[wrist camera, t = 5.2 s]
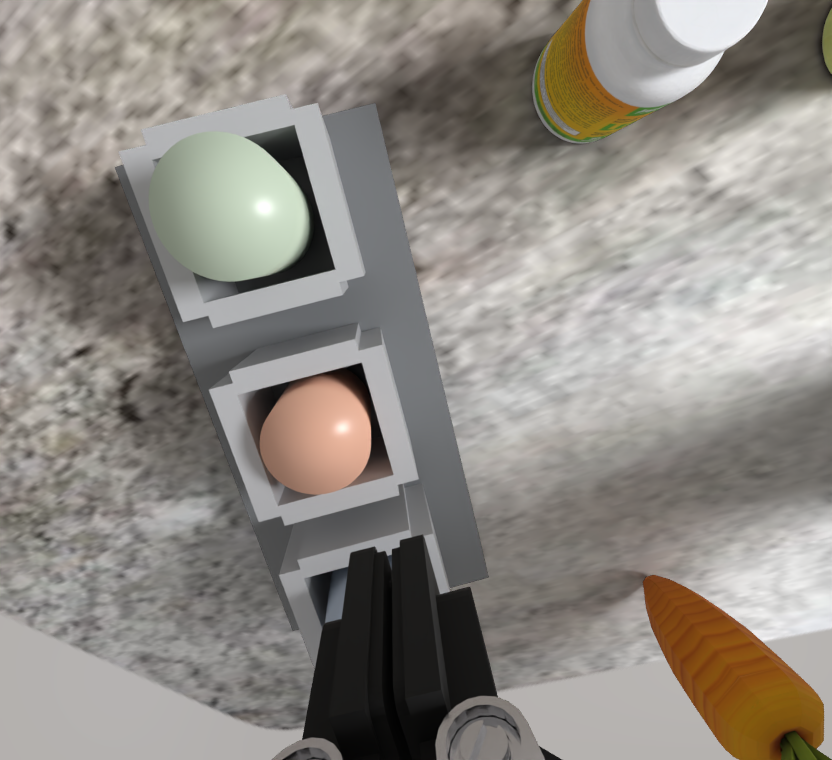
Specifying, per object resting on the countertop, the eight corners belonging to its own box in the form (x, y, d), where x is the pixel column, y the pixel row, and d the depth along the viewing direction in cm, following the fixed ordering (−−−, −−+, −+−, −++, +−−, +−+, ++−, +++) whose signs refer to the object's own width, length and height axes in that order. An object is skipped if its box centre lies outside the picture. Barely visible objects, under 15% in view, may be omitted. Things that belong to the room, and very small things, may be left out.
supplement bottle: (571, 168, 25) (692, 115, 16) (507, 81, 24) (596, -34, 14) (653, 93, 24) (828, -9, 15) (591, -1, 23) (741, -176, 14)
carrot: (694, 582, 32) (955, 845, 18) (632, 622, 33) (839, 910, 18) (662, 531, 31) (915, 770, 17) (598, 573, 32) (791, 841, 17)
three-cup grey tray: (375, 115, 24) (376, 59, 17) (481, 557, 30) (512, 642, 24) (135, 174, 23) (39, 140, 16) (297, 607, 30) (276, 708, 23)
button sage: (295, 151, 19) (269, 115, 14) (327, 261, 20) (313, 262, 15) (187, 178, 19) (125, 151, 14) (225, 287, 20) (180, 296, 15)
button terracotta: (357, 354, 23) (354, 379, 19) (380, 435, 25) (382, 478, 20) (270, 377, 23) (244, 408, 19) (297, 457, 25) (279, 506, 20)
